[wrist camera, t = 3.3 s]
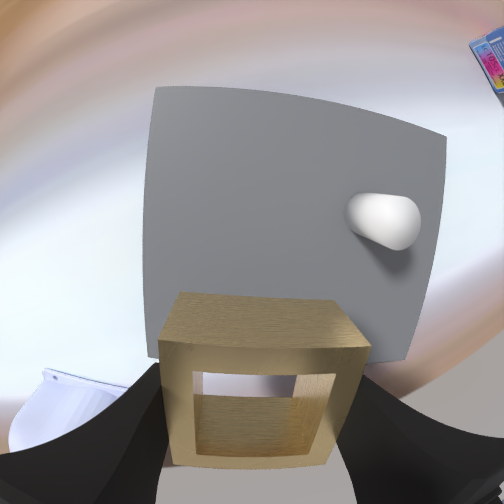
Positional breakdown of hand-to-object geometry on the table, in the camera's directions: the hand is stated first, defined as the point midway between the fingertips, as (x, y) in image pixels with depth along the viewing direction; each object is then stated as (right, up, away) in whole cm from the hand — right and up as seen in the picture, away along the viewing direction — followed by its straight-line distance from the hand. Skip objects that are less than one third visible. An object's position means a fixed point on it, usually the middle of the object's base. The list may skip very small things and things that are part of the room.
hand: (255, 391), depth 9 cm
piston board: (+3, +6, +7) cm, 10 cm away
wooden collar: (0, 0, +2) cm, 2 cm away
